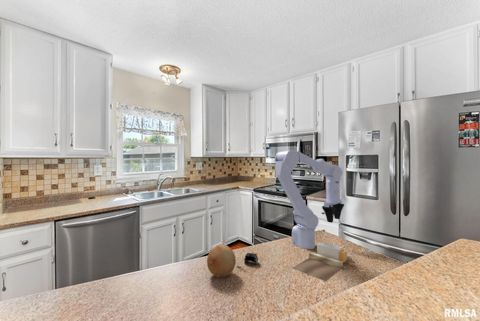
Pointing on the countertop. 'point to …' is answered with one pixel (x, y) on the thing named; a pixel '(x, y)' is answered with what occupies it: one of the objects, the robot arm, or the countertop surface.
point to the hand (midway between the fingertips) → (333, 220)
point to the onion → (221, 260)
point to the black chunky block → (250, 258)
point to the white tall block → (332, 251)
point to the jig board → (321, 266)
